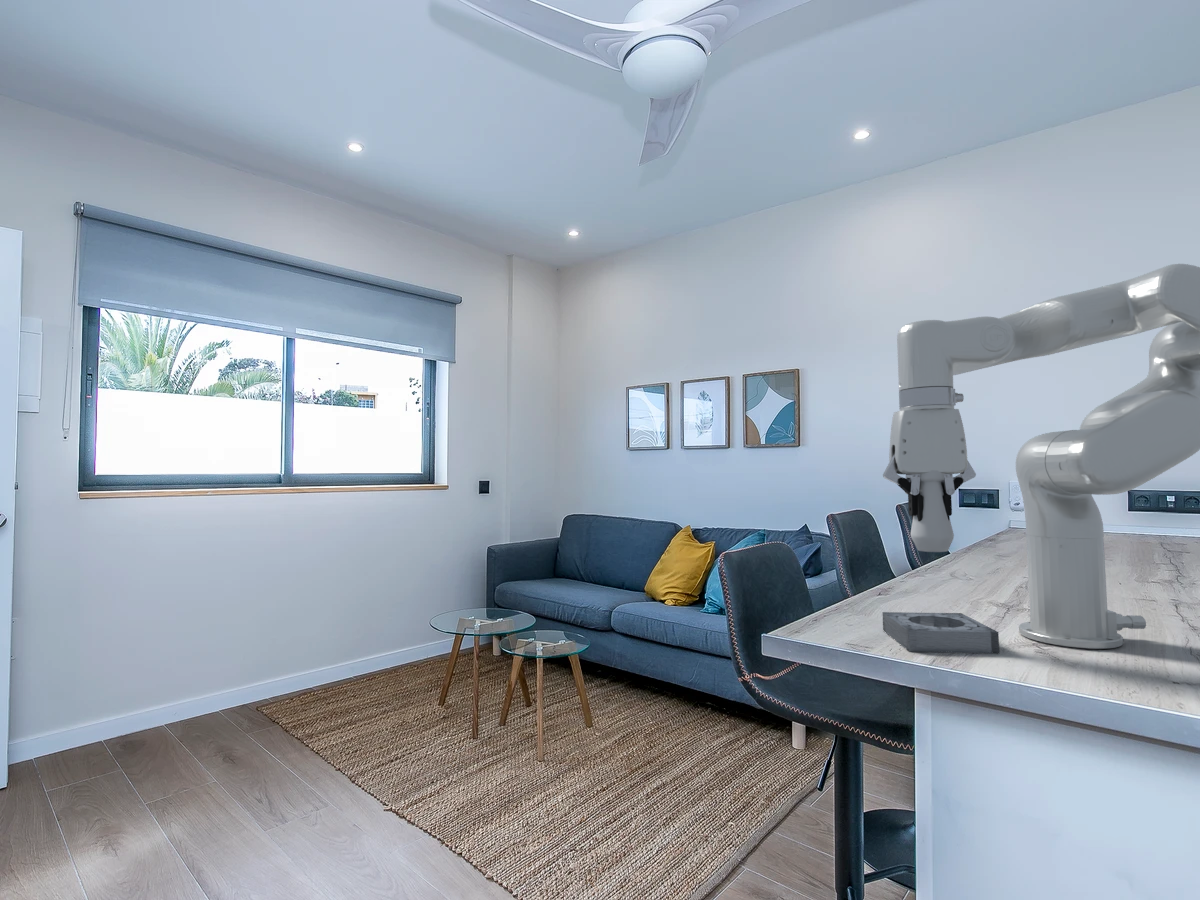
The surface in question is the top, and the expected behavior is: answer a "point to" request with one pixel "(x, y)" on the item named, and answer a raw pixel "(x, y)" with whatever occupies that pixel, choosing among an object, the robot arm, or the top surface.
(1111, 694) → the top surface
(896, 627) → the block
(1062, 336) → the robot arm
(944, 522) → the salt shaker
